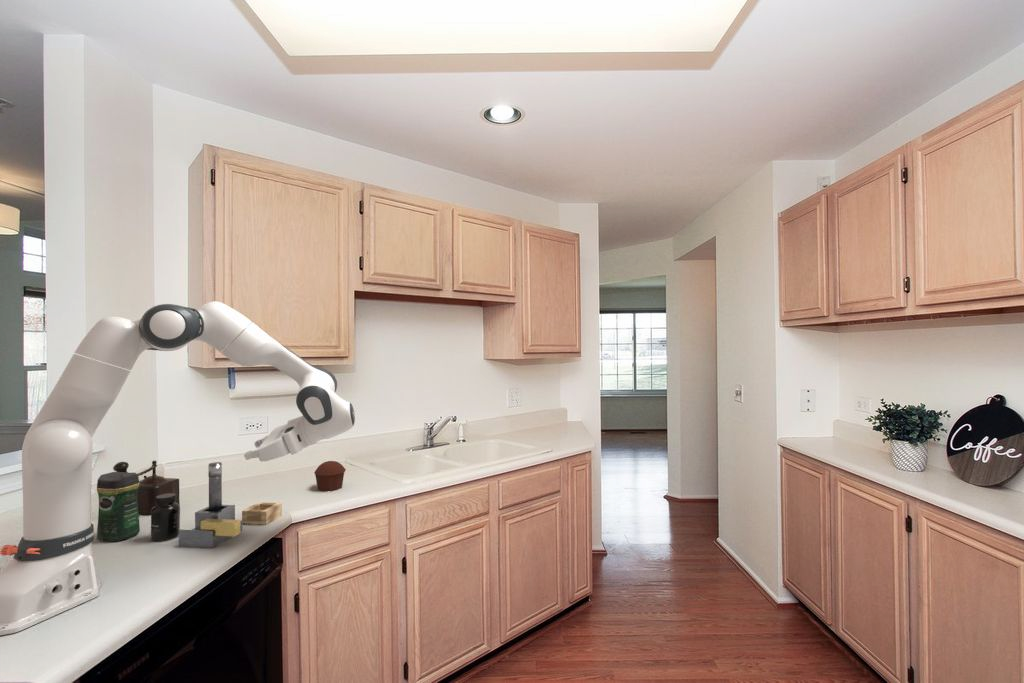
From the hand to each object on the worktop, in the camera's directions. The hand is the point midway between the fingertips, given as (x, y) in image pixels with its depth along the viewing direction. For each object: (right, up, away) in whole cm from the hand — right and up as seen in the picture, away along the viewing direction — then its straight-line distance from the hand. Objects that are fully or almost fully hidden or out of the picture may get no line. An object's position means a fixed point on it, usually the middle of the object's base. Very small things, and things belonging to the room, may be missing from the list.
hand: (250, 450), depth 139 cm
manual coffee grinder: (-46, -26, +22) cm, 57 cm away
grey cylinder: (-11, -22, +1) cm, 25 cm away
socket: (-11, -25, 0) cm, 27 cm away
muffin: (+5, -25, +48) cm, 54 cm away
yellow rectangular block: (-6, -22, -5) cm, 23 cm away
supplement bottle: (-25, -25, +1) cm, 36 cm away
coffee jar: (-39, -26, +2) cm, 47 cm away
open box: (-4, -25, +15) cm, 29 cm away
